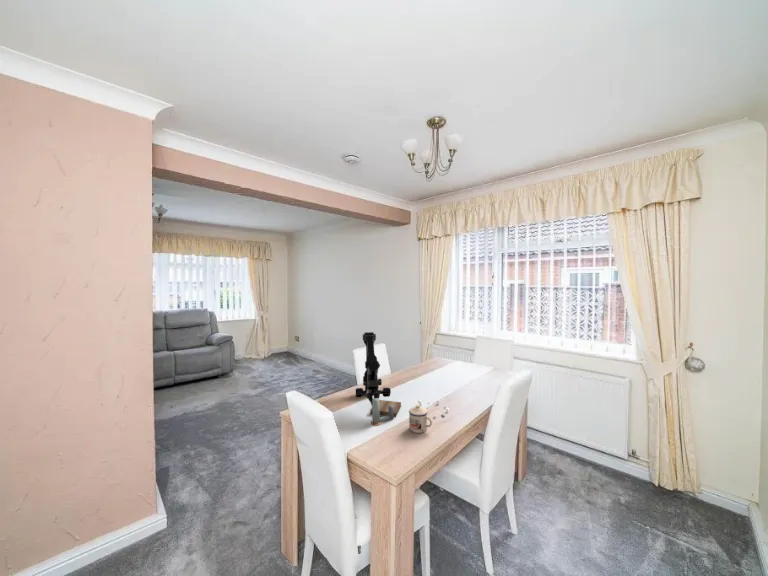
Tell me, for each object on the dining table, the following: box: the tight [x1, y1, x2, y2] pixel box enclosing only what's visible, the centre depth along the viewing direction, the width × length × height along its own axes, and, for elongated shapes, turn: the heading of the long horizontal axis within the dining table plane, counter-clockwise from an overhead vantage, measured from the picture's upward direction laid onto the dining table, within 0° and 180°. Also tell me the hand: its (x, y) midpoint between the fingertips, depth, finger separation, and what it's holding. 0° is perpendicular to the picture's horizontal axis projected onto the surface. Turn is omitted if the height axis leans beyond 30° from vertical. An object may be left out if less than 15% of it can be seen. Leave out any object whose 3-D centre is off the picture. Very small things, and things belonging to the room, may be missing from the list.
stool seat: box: [370, 399, 402, 426], centre depth 160 cm, size 14×25×2 cm, turn 165°
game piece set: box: [417, 399, 450, 419], centre depth 165 cm, size 19×20×4 cm
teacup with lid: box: [408, 404, 433, 434], centre depth 144 cm, size 12×9×12 cm
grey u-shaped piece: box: [371, 397, 395, 423], centre depth 153 cm, size 12×4×12 cm, turn 118°
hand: (373, 408), depth 153 cm, fingers closed, pressing on grey u-shaped piece
